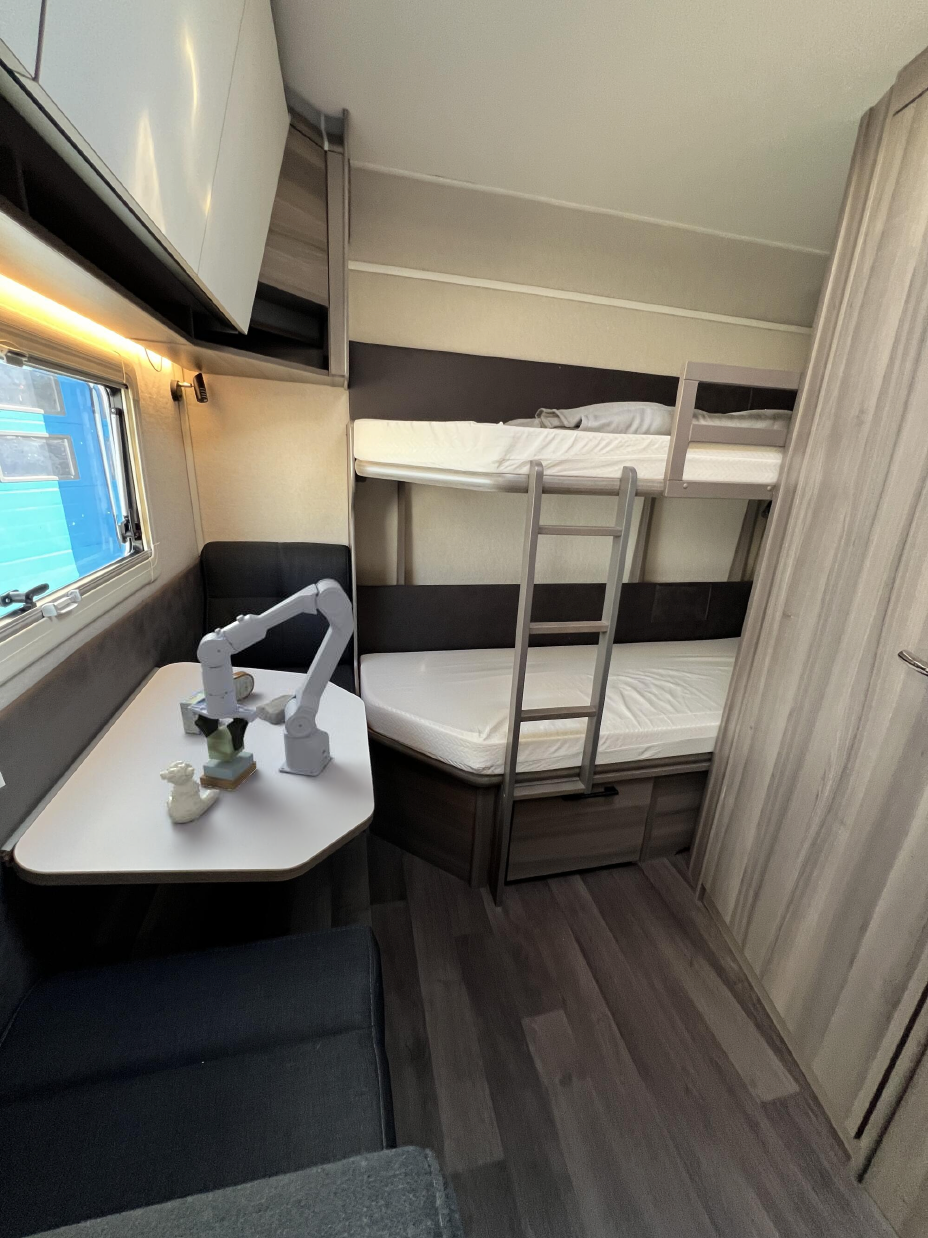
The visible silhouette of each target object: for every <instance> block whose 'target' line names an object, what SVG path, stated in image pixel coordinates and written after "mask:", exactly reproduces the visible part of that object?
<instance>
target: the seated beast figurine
mask: <svg viewBox="0 0 928 1238" xmlns="http://www.w3.org/2000/svg"><path fill="white" fill-rule="evenodd" d="M195 770H196V769H195V768H193V765H191V763H187V762H186V761H185V760H177V761H175V762H174V761H173V762H172V763H171V764H170V765H169V766H168V767H167V770H165V771H161V772H159V776H160V778H161V780H163V781H166V780H167V781H166V783H170V784H172V785H173V786H172V790H171V795H169V796H168V799H167V800H166V806H167V809H168V814H169V817H170V818H172V819H171V820H172V821H173V822H175V823H178V824H184V823H190V822H193V821H195V820H197V819H198V818H199V817H200V816H201V815H202V814H203V813H205V812H206V811H207V809H209V807H210V806H212V805H213V803H214V802H215V801H217V799H218V798H219V796H220V795H221V791H220V790H219V789H208V790H206V792H204V793H203V794H202V796H201V794H200V792H201V789H200V786H201V784H200V782H197V780H196V779H195V778H194V775H195V772H194V771H195Z"/></svg>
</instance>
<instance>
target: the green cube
mask: <svg viewBox="0 0 928 1238" xmlns="http://www.w3.org/2000/svg"><path fill="white" fill-rule="evenodd" d="M206 745H207V752H208V753H207V754H208V759H209V760H211V759H216V760H224V761H232V760H233V759H234V758H235V757H236V756H237V755H238V754H239V753H241V752H242V751H244V750H245V749H246V748H245V747H246V746H245V739H244V740H243V746H242V747H241V748H240V749H239V750H238V751H234V748H233V743H232V738H231V734H230V732H229V730H228V728H227V726H220V727H218V729H217V730H216V731H215V732H214V733H212V734H211V735H210V736H208V737H207V739H206Z"/></svg>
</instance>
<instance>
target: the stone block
mask: <svg viewBox="0 0 928 1238" xmlns="http://www.w3.org/2000/svg"><path fill="white" fill-rule="evenodd" d="M293 695H294V694H282V695H280V696H278V697H275V698H273V699H271V700H269V701H268V702H265V703H263V704H259V705H257V706H255V710H256V711H257V719H259V720H261V721H264V722H267V723H270V724H273V725H276V724H279V723H281V722H283V721H285V713H284V705H285V703H286V701H287V700H288V699H290V698H291V697H292V696H293Z"/></svg>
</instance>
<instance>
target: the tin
mask: <svg viewBox="0 0 928 1238" xmlns="http://www.w3.org/2000/svg"><path fill="white" fill-rule="evenodd" d="M233 677H234V685H235V694H236V701H237V703H239V702H240V701H242V700H245V699H246V698H248V697H249V696H250V695H251V694H252V693H253V691H254V687H255V678H254V677H253V675H252V674H250V673H248V672H247V671H244V670H240V671H237V672H233Z"/></svg>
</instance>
